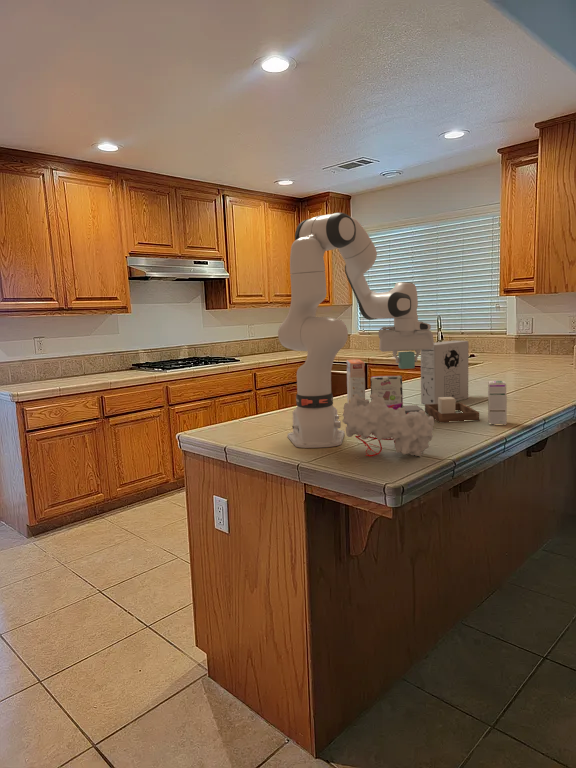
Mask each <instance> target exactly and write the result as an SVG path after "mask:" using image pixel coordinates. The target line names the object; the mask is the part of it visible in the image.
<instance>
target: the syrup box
mask: <svg viewBox="0 0 576 768" xmlns="http://www.w3.org/2000/svg"><path fill="white" fill-rule="evenodd" d="M507 399H508V398H507V382H506V381H505V380H488V382H487V417H488V419H487V420H488V424H489V423H491V424H507V418H508V416H507V415H508V413H507V412H508V410H507V409H508V405H507V403H508V401H507Z"/></svg>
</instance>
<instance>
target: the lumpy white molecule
mask: <svg viewBox="0 0 576 768" xmlns="http://www.w3.org/2000/svg"><path fill="white" fill-rule="evenodd" d="M369 398H370V399H371V398H372V401H371V400H369V399H368V398H367V399H366V398H365V400H364V399H363V398H361V397H359V396H358V394H355V395H354V397H352V399H351V403H350V404H348V402H346V403H343V404H344V405H343V413H342V416H343V419H342V423H344V424H345V425H346V426H345V434H346V436H347V437H348V438H352V437H353V436H354V435H355V436H354V437H355V438H356V439H357V440H359V441H361V442H362V443H363V445H364V446H365V447H367V448H366V450H365V454H366V455H365V456H369V457H375V456H377V455H380V454H381V452H382V451H383V445H382V443H381V441H393V443H394V449H395V452H396V453H398V454H401V453H402V455H411V456H414V455H415V456H414V457H417V456H421V457H422V452H424V451H425V450H426V449H428V448H429V447H430V444H429V442H430V441H431V440H432V438H433V437H434V435H433V431H434V426H435V419H434V418H433V417H432V416H430V415H428V414H427V413H426V412H425V410H424V409H423V410H424V411H423V410H420V411H419V412H416V411H415V412H409V413H407V414H405V408H398V409H397V410H394V409H393V408H392V407H393V406H394V405H392V406H389V407H387V406H386V405H385V403H384V398H383V397H378V395H377V394H376V393H374V394H371V393H370V395H369ZM390 407H391V408H390ZM366 439H370V440H377V441H378V443H379V445H375V444H373V443H370V442H369V443H367V442H366V441H365V440H366ZM369 445H371V446H374V447H376V448H380V450H379V451H378V452H376V451H374V450H373V449H372V448H371V446H369ZM368 450H369V451H371V450H372V452H373V453H374V454H369V453H368Z"/></svg>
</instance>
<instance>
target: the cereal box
mask: <svg viewBox="0 0 576 768" xmlns="http://www.w3.org/2000/svg"><path fill="white" fill-rule="evenodd" d="M438 397H453V398H454V399H455V402H458V401H457V400H460V401H463V400H462V399H464V400H467V398H468V399H469V341H468V340H445V341H438V342H434V347H433V348H432V349H427V350H420V403H421V404H422V403H423V405H425V404H438Z"/></svg>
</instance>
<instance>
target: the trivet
mask: <svg viewBox="0 0 576 768" xmlns="http://www.w3.org/2000/svg"><path fill="white" fill-rule="evenodd" d="M403 408H405V414H407V413H409V412H415V411H416V412H419V411H420V410H423V411H425V409H423V408H422V407H420V406H419V405H417V404H416V405H415V404H413V405H403Z"/></svg>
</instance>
